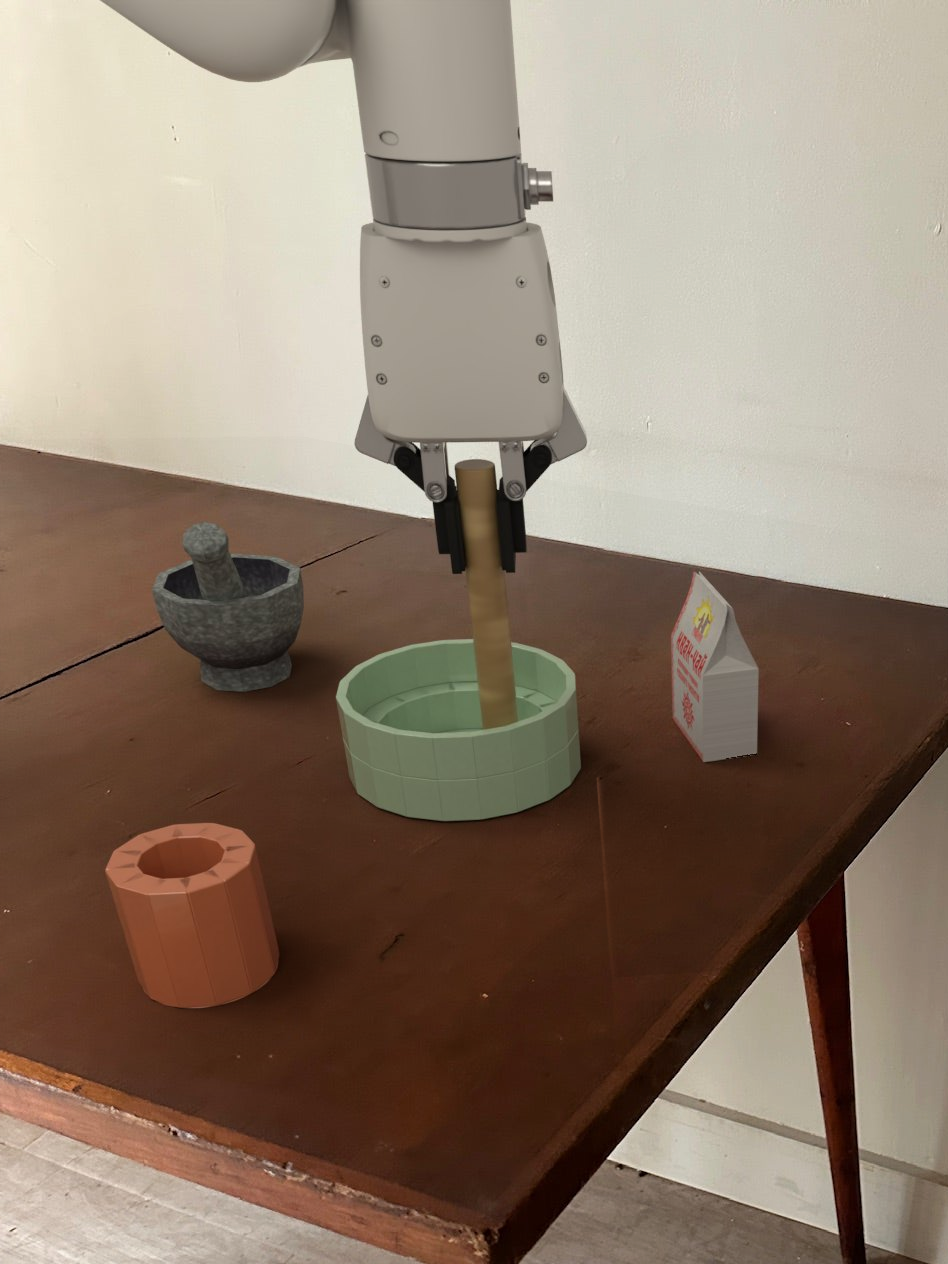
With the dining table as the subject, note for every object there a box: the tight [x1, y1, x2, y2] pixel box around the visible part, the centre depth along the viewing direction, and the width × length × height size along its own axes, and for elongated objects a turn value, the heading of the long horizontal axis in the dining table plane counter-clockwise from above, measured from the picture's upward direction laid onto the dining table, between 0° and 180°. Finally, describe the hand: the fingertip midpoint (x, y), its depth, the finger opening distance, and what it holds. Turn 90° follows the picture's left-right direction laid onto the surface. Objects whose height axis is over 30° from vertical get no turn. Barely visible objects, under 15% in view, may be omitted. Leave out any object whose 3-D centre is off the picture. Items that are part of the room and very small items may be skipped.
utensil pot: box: [104, 822, 281, 1009], centre depth 70 cm, size 7×7×7 cm
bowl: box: [335, 638, 582, 822], centre depth 88 cm, size 14×14×6 cm
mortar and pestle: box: [151, 521, 305, 693], centre depth 97 cm, size 11×9×12 cm
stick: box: [453, 458, 518, 730], centre depth 84 cm, size 2×2×17 cm
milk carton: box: [670, 571, 760, 763], centre depth 92 cm, size 4×7×10 cm, turn 20°
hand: (484, 562), depth 82 cm, fingers closed on stick, 2 cm apart
